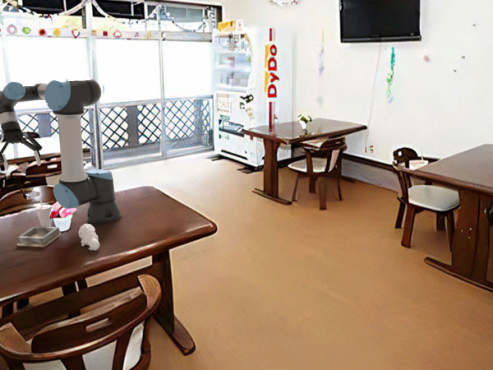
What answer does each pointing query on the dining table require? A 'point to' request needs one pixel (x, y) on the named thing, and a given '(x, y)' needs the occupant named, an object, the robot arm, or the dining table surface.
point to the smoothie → (44, 214)
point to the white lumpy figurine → (89, 236)
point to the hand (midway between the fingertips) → (23, 166)
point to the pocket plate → (38, 236)
